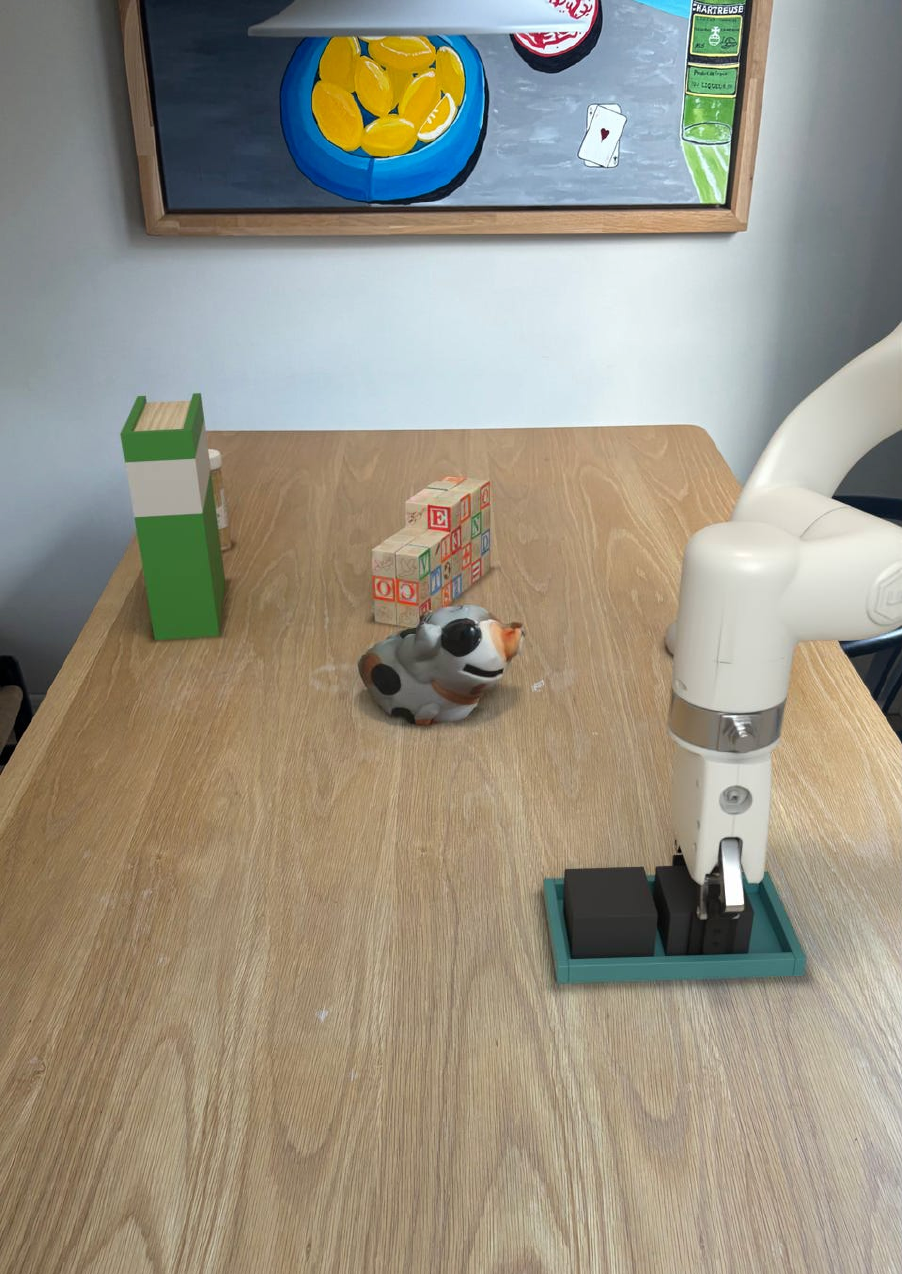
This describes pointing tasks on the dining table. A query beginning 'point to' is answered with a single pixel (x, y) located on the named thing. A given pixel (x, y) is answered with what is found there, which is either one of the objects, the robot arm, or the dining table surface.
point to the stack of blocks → (433, 551)
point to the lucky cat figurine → (440, 664)
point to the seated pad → (609, 913)
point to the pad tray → (766, 957)
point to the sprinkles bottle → (219, 498)
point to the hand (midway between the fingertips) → (699, 924)
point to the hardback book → (175, 516)
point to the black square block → (689, 909)
